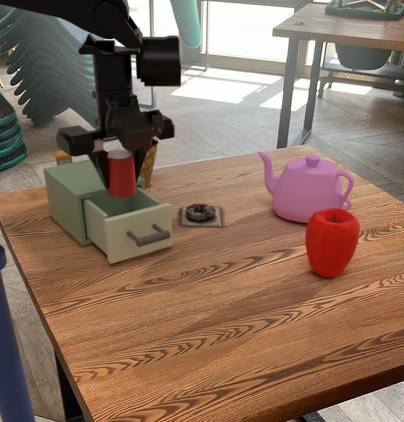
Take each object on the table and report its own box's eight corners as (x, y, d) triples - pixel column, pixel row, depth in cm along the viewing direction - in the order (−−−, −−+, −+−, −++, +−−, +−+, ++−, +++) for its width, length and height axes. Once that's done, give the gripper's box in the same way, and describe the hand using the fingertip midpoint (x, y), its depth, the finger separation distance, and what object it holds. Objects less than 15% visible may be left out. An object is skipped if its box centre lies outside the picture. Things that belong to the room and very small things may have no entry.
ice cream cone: (163, 191, 124) (162, 119, 115) (136, 194, 122) (132, 122, 113) (154, 179, 129) (152, 109, 119) (127, 183, 127) (123, 112, 118)
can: (115, 200, 95) (112, 161, 91) (101, 190, 98) (98, 152, 94) (141, 194, 97) (139, 155, 93) (127, 184, 101) (125, 146, 96)
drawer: (186, 256, 100) (186, 214, 95) (124, 276, 95) (120, 233, 90) (135, 217, 112) (133, 178, 107) (76, 233, 106) (71, 193, 101)
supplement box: (60, 198, 120) (53, 150, 114) (77, 196, 121) (71, 149, 115) (62, 205, 118) (55, 156, 111) (79, 203, 118) (73, 154, 112)
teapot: (352, 207, 120) (363, 150, 112) (344, 235, 110) (356, 175, 102) (259, 193, 124) (264, 138, 117) (243, 219, 114) (248, 160, 107)
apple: (306, 255, 103) (315, 198, 96) (355, 264, 101) (367, 207, 94) (294, 278, 97) (303, 219, 90) (345, 289, 95) (358, 229, 88)
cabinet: (147, 228, 110) (145, 179, 104) (82, 246, 104) (76, 195, 98) (111, 201, 120) (108, 155, 113) (50, 216, 113) (43, 168, 107)
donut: (181, 207, 118) (181, 198, 116) (219, 208, 118) (219, 198, 117) (181, 226, 111) (181, 216, 110) (221, 226, 111) (221, 216, 110)
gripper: (79, 108, 78) (91, 215, 88) (194, 90, 86) (192, 190, 96) (48, 89, 85) (61, 190, 95) (156, 74, 93) (158, 168, 103)
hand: (120, 185), depth 97 cm, fingers closed on can, 5 cm apart
